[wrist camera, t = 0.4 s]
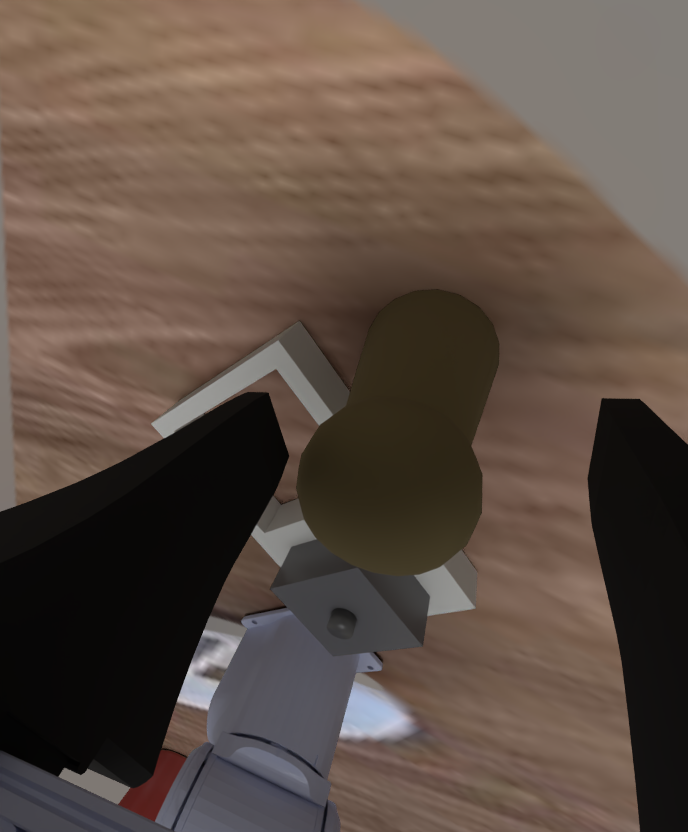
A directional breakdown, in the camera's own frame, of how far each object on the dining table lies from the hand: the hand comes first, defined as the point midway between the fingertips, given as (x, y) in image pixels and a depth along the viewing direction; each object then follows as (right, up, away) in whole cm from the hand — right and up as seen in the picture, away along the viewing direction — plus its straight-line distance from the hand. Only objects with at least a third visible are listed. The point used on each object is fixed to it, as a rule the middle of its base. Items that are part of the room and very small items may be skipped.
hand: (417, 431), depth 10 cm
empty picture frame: (-3, -4, +16) cm, 17 cm away
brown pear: (+2, +3, +10) cm, 11 cm away
